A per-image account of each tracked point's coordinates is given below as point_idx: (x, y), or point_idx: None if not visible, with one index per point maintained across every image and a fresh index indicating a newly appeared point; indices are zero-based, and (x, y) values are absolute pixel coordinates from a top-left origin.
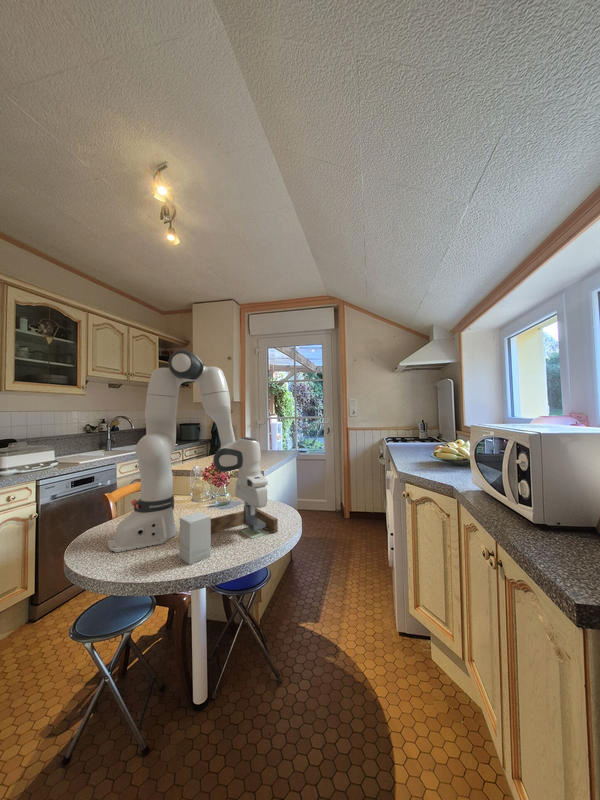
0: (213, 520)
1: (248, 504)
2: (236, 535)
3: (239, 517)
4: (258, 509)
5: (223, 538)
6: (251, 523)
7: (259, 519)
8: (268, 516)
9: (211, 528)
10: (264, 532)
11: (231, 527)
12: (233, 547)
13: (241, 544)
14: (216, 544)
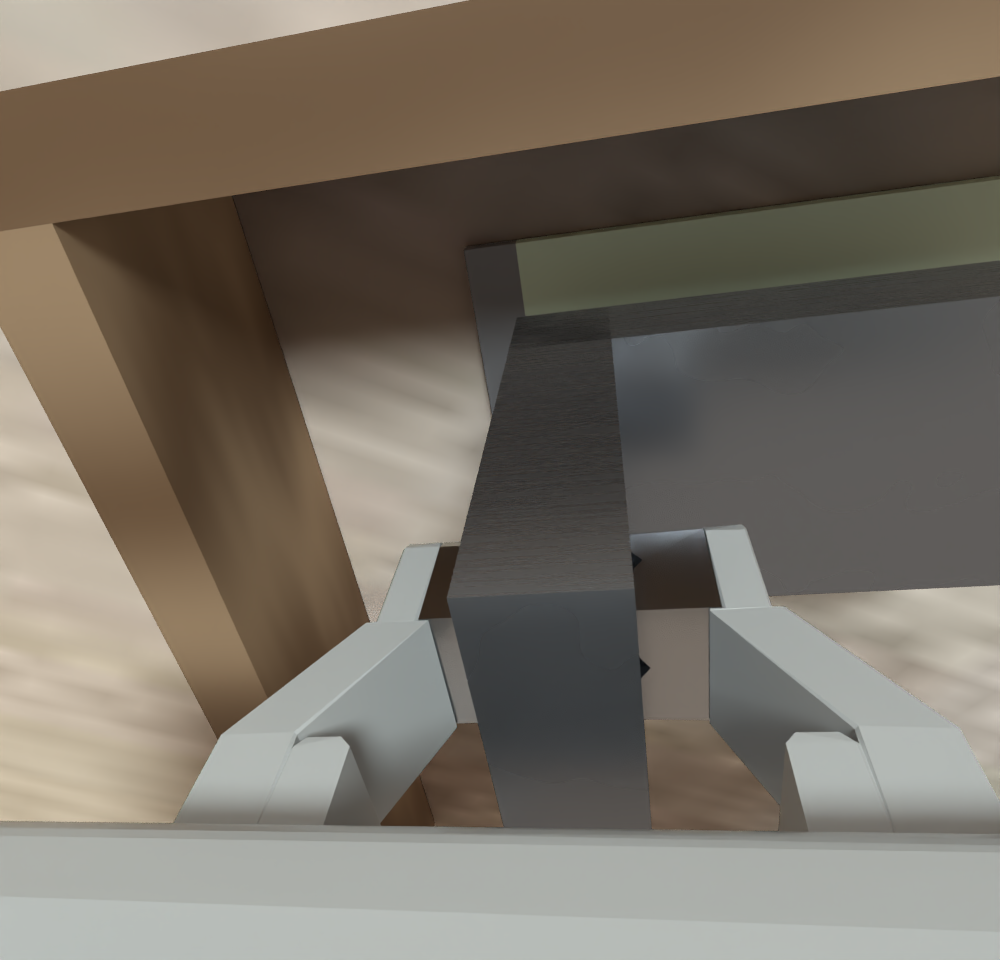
0: None
1: (360, 733)
2: None
3: (269, 560)
4: (76, 87)
5: (650, 748)
6: (846, 564)
7: (760, 324)
8: (974, 48)
9: None
10: (952, 238)
11: (357, 592)
12: (984, 751)
13: (995, 669)
14: (754, 829)
